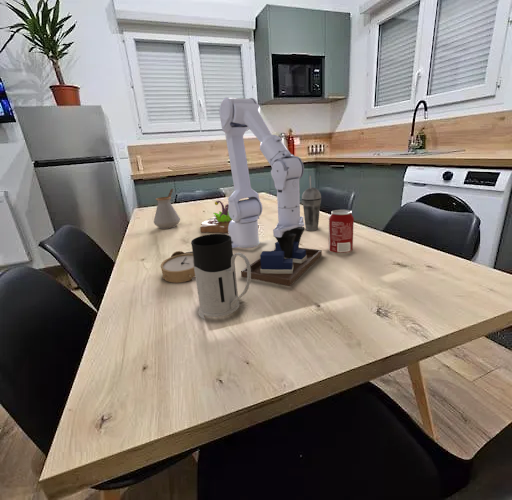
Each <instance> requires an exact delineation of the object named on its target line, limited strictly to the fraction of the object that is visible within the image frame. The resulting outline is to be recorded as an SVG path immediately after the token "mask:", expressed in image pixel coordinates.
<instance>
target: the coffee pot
mask: <svg viewBox="0 0 512 500" xmlns="http://www.w3.org/2000/svg"><path fill="white" fill-rule="evenodd" d="M173 190H174V191H175V189H174V188H171V189H170V190H169V193H168V195H167V196H161V197H157V198H155V201H157V206H156V210H155V214H154V219H153V224H154V225H155V226H156V227H157V228H159V229H161V230H163V229H165V230H166V229H172V228H175V227H177V225H179V223H180V221H181V218H180V216H179V215H178V213H177V211H176V210H175V208H174V205H172V203H171V199H172V195H173V194H172V193H174V191H173Z"/></svg>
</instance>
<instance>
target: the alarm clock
mask: <svg viewBox="0 0 512 500" xmlns="http://www.w3.org/2000/svg"><path fill="white" fill-rule="evenodd" d="M160 270H161V273H162V277H161V279H163V280H165V281H166V282H168V283H178V284H179V283H186V282H189V281H193V280H192V278H196V277H195V271H194V263H193V251H192V250H191V251H185V252H183V251H182V250H177V251H174V252H173V253H172V254H171V256H170V257H168V258H165V260H163V261H162V262H161V264H160Z"/></svg>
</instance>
